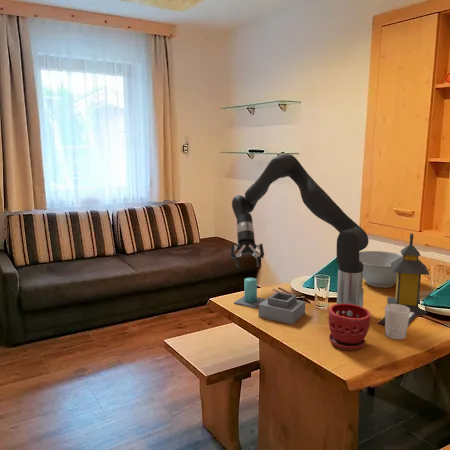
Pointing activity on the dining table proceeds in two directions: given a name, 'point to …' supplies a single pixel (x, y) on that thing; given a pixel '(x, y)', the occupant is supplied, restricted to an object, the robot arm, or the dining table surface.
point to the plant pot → (348, 326)
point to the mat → (253, 305)
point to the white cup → (396, 321)
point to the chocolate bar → (411, 318)
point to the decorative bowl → (378, 268)
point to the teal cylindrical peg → (250, 290)
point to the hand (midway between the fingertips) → (248, 266)
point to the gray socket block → (282, 308)
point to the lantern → (408, 278)
